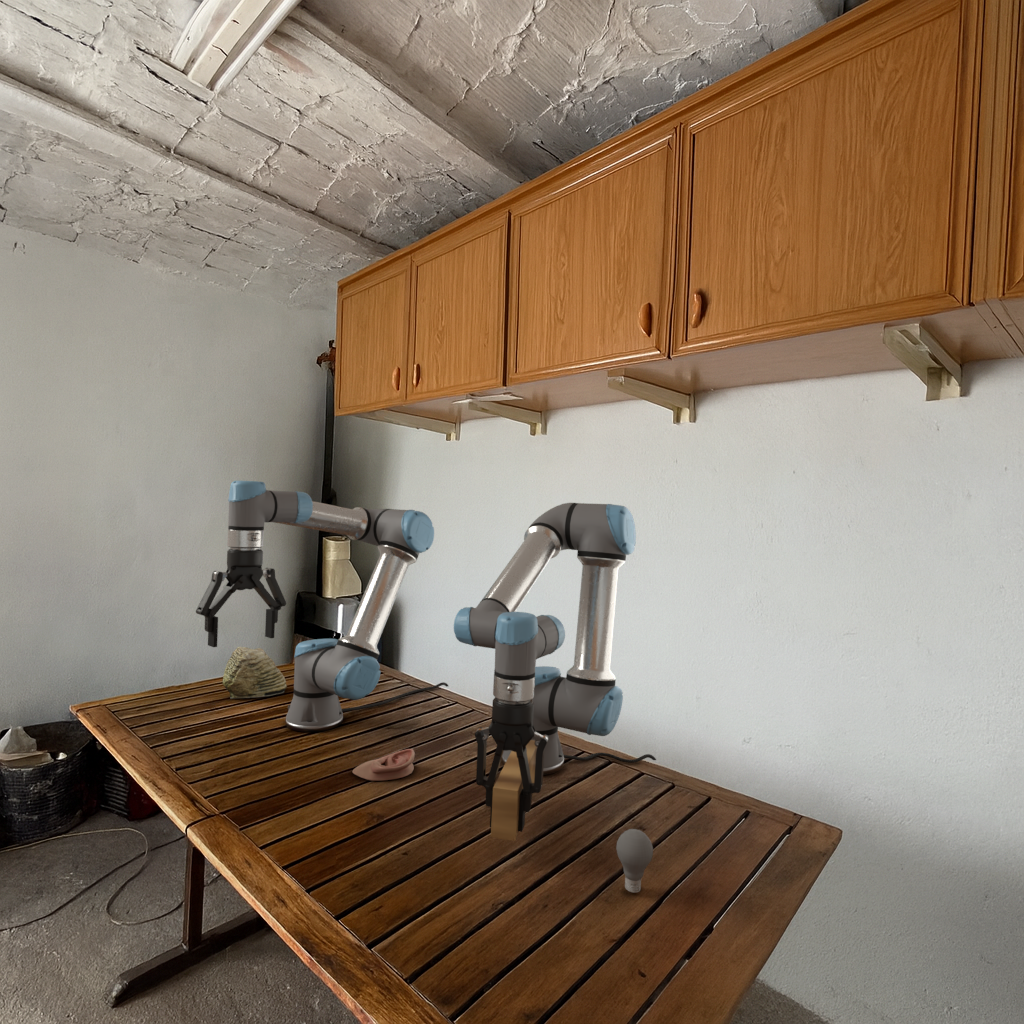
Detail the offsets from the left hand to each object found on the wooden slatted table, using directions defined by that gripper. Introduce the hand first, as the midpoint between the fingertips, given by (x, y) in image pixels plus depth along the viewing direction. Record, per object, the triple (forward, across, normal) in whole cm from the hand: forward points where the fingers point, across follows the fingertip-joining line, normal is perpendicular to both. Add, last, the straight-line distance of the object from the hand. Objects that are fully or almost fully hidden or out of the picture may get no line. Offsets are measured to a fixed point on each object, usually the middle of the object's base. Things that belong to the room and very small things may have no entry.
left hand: (242, 641), depth 144 cm
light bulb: (+29, +21, -89) cm, 96 cm away
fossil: (+29, +30, +47) cm, 63 cm away
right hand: (+24, +16, -66) cm, 73 cm away
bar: (+25, +24, -62) cm, 71 cm away
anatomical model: (+29, +23, -24) cm, 44 cm away
